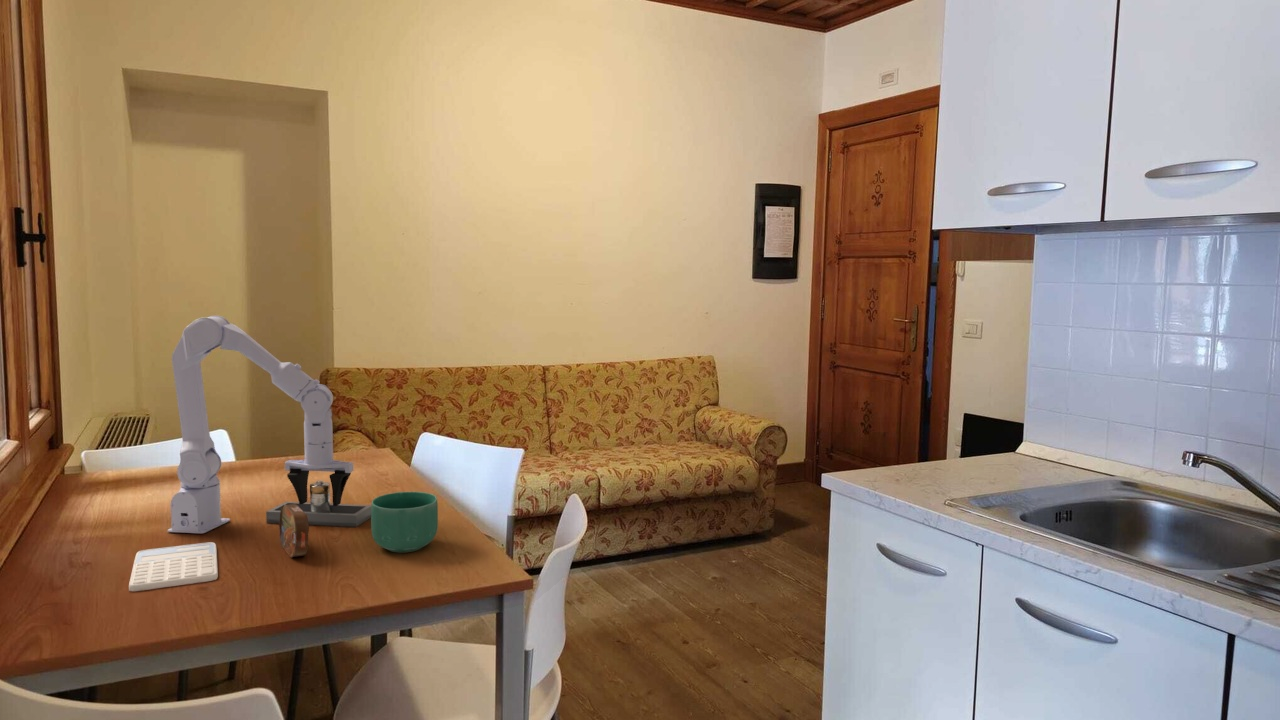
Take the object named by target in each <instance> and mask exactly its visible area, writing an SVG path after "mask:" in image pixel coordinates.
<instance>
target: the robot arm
mask: <svg viewBox="0 0 1280 720" xmlns="http://www.w3.org/2000/svg"><path fill="white" fill-rule="evenodd" d="M218 347H220V348H219V349H220V350H226V351H227V350H228V351H234V352H239V353H240V354H241V355H243V356H245V357H246V358H247V359H248V360H250V361H251V362H252V363H254V364H255V365H256V366H258V367H260V368H261V369H263V370H264V371H266V372H267V373H269V374H270V377H271V384H273V385H274V386H276V387H277V388H278V389H279V390H281V391H282V392H284V393H285V394H286V395H287V396H289V397H290V398H292V399H293V400H294V401H296V402H298V403H300V406H301V409H302V410H303V412H304V421H303V439H304V441H303V442H304V443H303V445H304V459H289V460H286V461H285V462H284V471H289V472H288V473H287V475H286V476H287V477H286V478H287V479H288V480H289V482H290V483H291V485H292V486H293V489H294V491H295V493H296V496H297V500H298V502H299V504H304V503H308V479H309V475H310V474H309V473H310V472H312V471H313V472H333V473H332V474H329V480H330V486H331V490H332V491H331V492H332V504H333V506H337V505H339V504H342V503H341V502H342V497H343V493H344V490H345V487H346V485H347V483H348V479H349V478H350V477H351V473H353V472H354V462H351V461H342V460H335V459H334V441H333V440H334V438H333V437H334V434H333V428H334V427H333V420H332V417H333V413H332V408H331V406H332V404H333V402H334V396H333V393H332V391H331V390H330V388H329V387H328V386H327V385H325V384H321V383H320V382H321V381H320V380H319V379H317V378H315V380H314V378H312V377H311V376H310V375H308V374H307V373H306V372H304V371H303V370H302V366H301V365H300V364H299V363H295V364H294V363H293V362H291V361H288V362H287V361H286V362H285V361H284V362H282V361H280V360H279V359H278V358H277V357H275V356H274V355H273V354H272V353H270V351H268V349H266V348H265V347H263V346H262V345H261V344H260V343H259V342H257V341H256V340H255V339H254V338H253V337H252V336H250V335H249V334H248V333H246V332H245V331H244V330H243V329H241V328H240V327H239V326H238V325H235V324H234V323H230V322H229V320H228V319H227V318H225V317H223V316H221V315H211V316H208V317H199V318H197V319H195V320H193V321H192V322H191V323H189V324H188V325H187V326H186V327H185V328H184V329H183V331H182V335H181V338H180V339H179V341H178V343H177V344H176V347H175V348H174V350H173V353H171V365H172V372H173V379H174V385H175V386H174V387H175V394H176V402H177V408H178V415H179V422H180V432H181V438H182V443H181V445H180V446H181V447H180V451H179V457H180V460H179V463H178V464H179V465H178V467H177V471H176V473H177V478H178V480H179V482H180V488H179V491H178V492H176V493H175V494H174V495H173V496H172V498H171V500H170V523H171V525H170V526H171V527H170V528H169V529H167V533H182V534H183V533H184V534H185V533H187V534H205V533H208V532H210V531H212V530H213V529H216V528H218V527H221V526H222V525H224V524H226V523H228V522H230V521H231V518H228V517H226V518H225V517H222V511H221V510H222V507H221V483H220V482H221V480H220V479H219V477H218V476H217V473H218V472H219V471H220V470H221V467H222V458H221V456H220V455H219V453H218V452H217V451H216V448H215V442H214V441H213V439H212V437H211V434H210V428H209V426H210V425H209V418H208V412H207V403H206V396H205V388H204V382H203V373H202V365H201V364H202V362H203V360H205V359H206V357H207V356H208V355H210V353H211V352H212V351H213V350H216V349H217V348H218Z"/></svg>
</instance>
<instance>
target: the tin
mask: <svg viewBox="0 0 1280 720" xmlns="http://www.w3.org/2000/svg"><path fill="white" fill-rule="evenodd" d="M278 526H279V528H278V529H279V530H278V531H279V542H280V544H281V547H282V549H283V550H284V551H285V552H286V554H287V555H288V557H289V558H291V559H292V558H296V557H303V556H306V554H307V553H308V551H309V530H310V525H309V522H308V517H307V515H306V513H305V512H304V511H303V510H302V509H301V508H300V507H299V506H298V505H294V504H293V505H283V506H282V507H281V512H280V520H279V525H278Z"/></svg>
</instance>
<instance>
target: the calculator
mask: <svg viewBox="0 0 1280 720" xmlns="http://www.w3.org/2000/svg"><path fill="white" fill-rule="evenodd" d="M218 577H219V569H218V552H217V544H216V543H215V542H211V541H210V542H209V541H208V542H201V543H200V542H199V543H191V544H183V545H176V546H175V545H174V546H167V547H166V546H165V547H158V548H156V547H155V548H149V549H142V550H139V551H137V552H136V554H135V557H134V561H133V565H132V570H131V574H130V577H129V578H130V579H129V583H128V591H129V592H141V591H146V590H147V591H148V590H154V589H155V590H156V589H162V588H168V587H169V588H170V587H176V586H185V585H191V584H192V585H193V584H199V583H205V582H211V581H216V580H217V579H218Z"/></svg>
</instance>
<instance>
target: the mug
mask: <svg viewBox="0 0 1280 720" xmlns="http://www.w3.org/2000/svg"><path fill="white" fill-rule="evenodd" d="M370 505H371V518H370V524H371V526H370V528H371V535H372V538H373V540H374V542H375V543H376V544H377V545H378V546H380V547H381V548H383V549H386V550H387V551H390V552H393V553H411V552H416V551H419V550H421V549H422V548H424V547H425V546H427V545H429V544H430V543H432V541H433V540H434V539H435V537H436V536H437V535H436V534H437V532H438V526H439V513H438V512H439V511H438V510H439V508H438V498H437V496H436V495H435V494H433V493H429V492H423V491H401V492H399V491H398V492H393V493H386V494H382V495H380V496H377V497H375V498H374V499H373V500H372V501H371V504H370Z"/></svg>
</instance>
